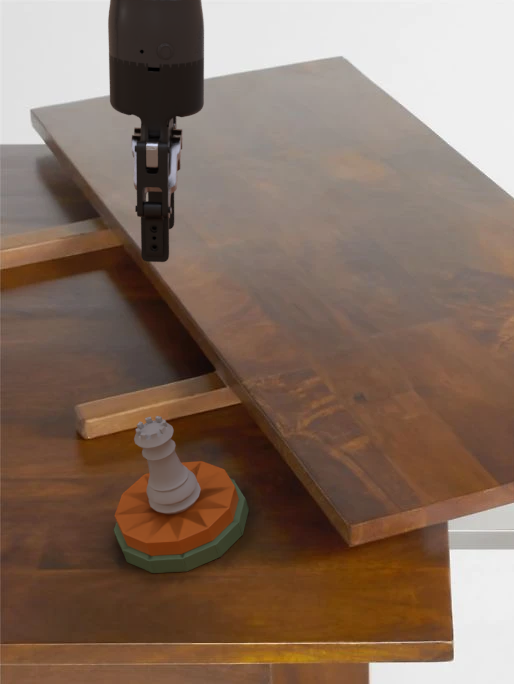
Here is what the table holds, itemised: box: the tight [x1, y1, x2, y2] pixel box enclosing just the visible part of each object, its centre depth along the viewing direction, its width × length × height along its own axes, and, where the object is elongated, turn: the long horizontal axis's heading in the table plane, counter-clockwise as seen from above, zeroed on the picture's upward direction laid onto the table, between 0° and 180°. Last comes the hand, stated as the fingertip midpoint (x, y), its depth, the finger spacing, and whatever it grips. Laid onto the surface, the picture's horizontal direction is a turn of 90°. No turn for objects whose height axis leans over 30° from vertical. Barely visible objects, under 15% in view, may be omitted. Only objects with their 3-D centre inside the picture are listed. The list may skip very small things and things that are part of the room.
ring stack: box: [112, 460, 250, 574], centre depth 117 cm, size 11×11×3 cm
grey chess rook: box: [133, 415, 201, 514], centre depth 114 cm, size 4×4×8 cm
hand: (158, 243), depth 117 cm, fingers open, 8 cm apart
